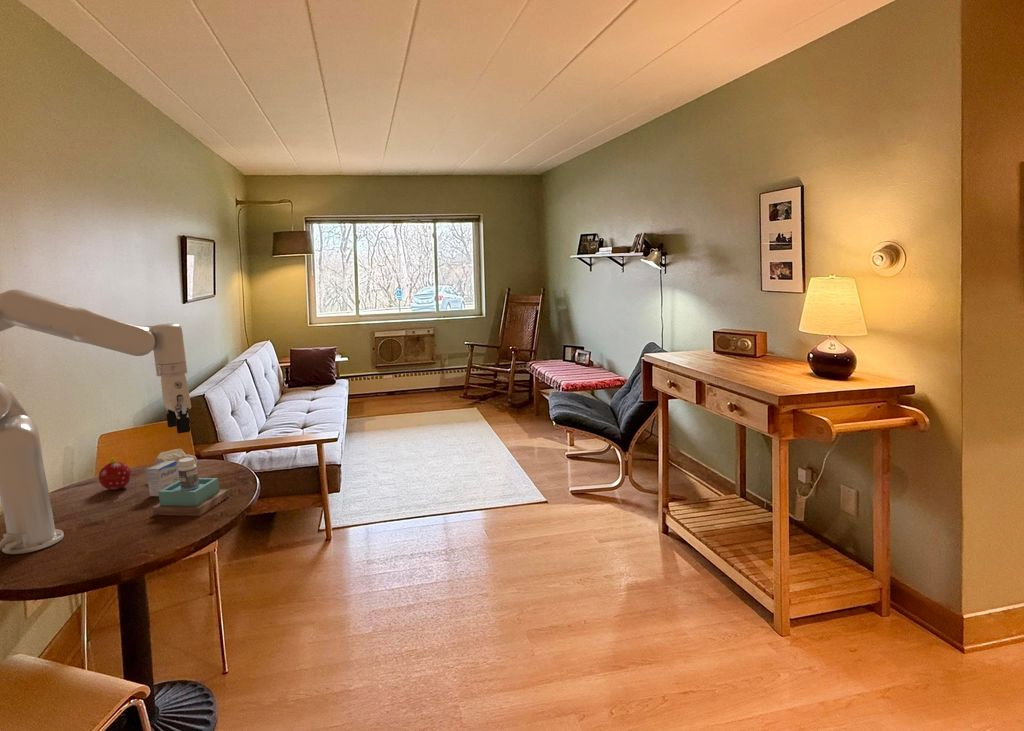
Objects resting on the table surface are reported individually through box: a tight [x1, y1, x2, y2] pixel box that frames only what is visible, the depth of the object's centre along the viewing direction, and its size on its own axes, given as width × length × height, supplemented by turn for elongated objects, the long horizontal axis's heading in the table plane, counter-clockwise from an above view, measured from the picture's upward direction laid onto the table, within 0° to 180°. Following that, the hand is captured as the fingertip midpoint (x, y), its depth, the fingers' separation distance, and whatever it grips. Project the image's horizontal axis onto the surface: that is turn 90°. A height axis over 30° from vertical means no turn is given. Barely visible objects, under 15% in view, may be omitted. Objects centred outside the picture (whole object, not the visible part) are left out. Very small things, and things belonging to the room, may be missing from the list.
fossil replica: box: [154, 448, 198, 474], centre depth 212 cm, size 12×8×10 cm
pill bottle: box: [178, 458, 199, 491], centre depth 182 cm, size 5×5×8 cm
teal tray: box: [158, 477, 221, 506], centre depth 183 cm, size 11×11×4 cm
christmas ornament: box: [98, 457, 132, 491], centre depth 200 cm, size 9×9×10 cm
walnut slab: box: [152, 488, 230, 517], centre depth 183 cm, size 14×14×3 cm
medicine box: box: [145, 461, 180, 497], centre depth 195 cm, size 8×4×9 cm, turn 168°
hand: (179, 429), depth 180 cm, fingers open, 9 cm apart
